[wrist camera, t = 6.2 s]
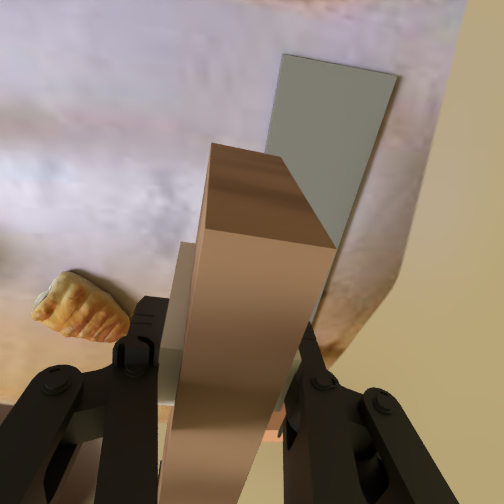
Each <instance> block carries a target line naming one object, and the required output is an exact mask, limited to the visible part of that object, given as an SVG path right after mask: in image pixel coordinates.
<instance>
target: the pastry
mask: <svg viewBox="0 0 504 504" xmlns="http://www.w3.org/2000/svg"><path fill="white" fill-rule="evenodd" d="M31 317H32V318H33V319H34V320H35V321H40V322H42V323H43V324H45V325H46V326H48V327H49V328H50V329H52V330H54V331H57V332H59V333H60V334H61V335H63V336H65V337H76V338H85V339H88V340H90V341H96V342H107V343H111V342H115V341H117V340H119V339H120V338H121V337H123V336H125V335H127V333H128V330H129V327H130V320H129V317H128V315H127V314H126V312H125V311H124V310H122V309H121V308H120V307H119V305H118V304H117V303H116V302H115V301H114V299H113V297H112V296H111V295H110V294H109V293H108V292H104V291H103V290H102V289H101V288H99V287H97V286H96V285H94V284H93V283H92V282H91V281H89V280H87V279H85V278H83V277H82V276H80V275H78V274H75V273H73V272H68V271H66V272H62V273H60V275H58V276H57V277H56V278H55V279H54V280H53V282H52V284H51V285H50V287H49V289H48V290H46V291H44V292H42V293H41V294H40V295H39V297H38V298H37V299H36V301H35V303H34V307H33V309H32V312H31Z"/></svg>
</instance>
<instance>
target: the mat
mask: <svg viewBox="0 0 504 504" xmlns="http://www.w3.org/2000/svg"><path fill="white" fill-rule="evenodd" d="M396 79H397V76H394V75H389V74H384V73H379V72H374V71H369V70H363V69H358V68H353V67H348V66H343V65H337V64H332V63H327V62H322V61H317V60H311V59H306V58H301V57H296V56H291V55H286V54H283V55H282V60H281V66H280V71H279V77H278V82H277V88H276V93H275V99H274V104H273V110H272V115H271V121H270V126H269V131H268V137H267V142H266V148H265V154H270V155H274V156H279V157H281V158H282V160H283V161H284V163H285V165H286V166H287V168H288V170H289V171H290V173H291V175H292V176H293V178H294V179H295V181H296V183H297V184H298V186H299V188H300V189H301V191H302V193H303V194H304V196H305V197H306V199H307V201H308V202H309V204H310V206H311V207H312V209H313V211H314V212H315V214H316V215H317V217H318V219H319V220H320V222H321V224H322V225H323V227H324V229H325V230H326V232H327V233H328V235H329V237H330V238H331V240H332V242H333V243H334V245H335V247H336V248H337V249H338V247H339V244H340V241H341V238H342V235H343V232H344V229H345V226H346V223H347V221H348V218H349V215H350V212H351V209H352V206H353V203H354V200H355V197H356V194H357V192H358V189H359V186H360V183H361V180H362V177H363V174H364V171H365V168H366V166H367V163H368V160H369V157H370V154H371V151H372V148H373V145H374V142H375V140H376V137H377V134H378V131H379V128H380V125H381V122H382V119H383V116H384V114H385V111H386V108H387V105H388V102H389V99H390V96H391V93H392V90H393V88H394V85H395V82H396ZM336 252H337V251H336ZM335 255H336V254H335ZM334 258H335V256H334ZM333 261H334V259H333ZM333 261H332V264H333ZM332 264H331V266H330V269H329V271H328V274H327V276H326V279H325V282H324V284H323V287H322V289H321V292H320V294H319V297H318V299H317V302H316V304H315V307H314V309H313V312H312V314H311V317H310V320H309V321H310V322H311V325H312V322H313V319H314V316H315V313H316V310H317V307H318V304H319V301H320V299H321V296H322V293H323V290H324V287H325V284H326V281H327V278H328V275H329V273H330V270H331V267H332Z"/></svg>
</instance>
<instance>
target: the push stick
mask: <svg viewBox="0 0 504 504" xmlns="http://www.w3.org/2000/svg"><path fill="white" fill-rule="evenodd" d="M336 251H337V248H336V247H335V245H334V243H333V242H332V240H331V238H330V237H329V235H328V233H327V232H326V230H325V229H324V227H323V225H322V224H321V222H320V220H319V219H318V217H317V215H316V214H315V212H314V211H313V209H312V207H311V206H310V204H309V202H308V201H307V199H306V197H305V196H304V194H303V193H302V191H301V189H300V188H299V186H298V184H297V183H296V181H295V179H294V178H293V176H292V175H291V173H290V171H289V170H288V168H287V166H286V165H285V163H284V161H283V160H282V158H281V157H279V156H274V155H270V154H265V153H260V152H255V151H250V150H245V149H240V148H235V147H230V146H225V145H221V144H216V143H211V149H210V155H209V162H208V168H207V174H206V181H205V187H204V194H203V200H202V206H201V213H200V219H199V226H198V232H197V238H196V247H195V255H194V264H193V272H192V280H191V289H190V297H189V306H188V314H187V323H186V331H185V339H184V348H183V354H182V360H181V366H180V373H179V379H178V385H177V391H176V397H175V403H174V406H172V405H170V411H169V418H168V424H167V430H166V437H165V443H164V450H163V457H162V458H163V459H162V460H161V461H160V468H159V475H158V504H237V502H238V499H239V497H240V494H241V491H242V489H243V487H244V484H245V481H246V479H247V476H248V474H249V471H250V469H251V466H252V464H253V461H254V459H255V456H256V453H257V451H258V449H259V446H260V443H261V441H262V438H263V436H264V433H265V431H266V428H267V426H268V423H269V421H270V418H271V416H272V413H273V411H274V408H275V406H276V403H277V400H278V398H279V395H280V393H281V390H282V388H283V385H284V383H285V380H286V378H287V375H288V373H289V370H290V368H291V365H292V363H293V360H294V357H295V355H296V352H297V350H298V347H299V345H300V342H301V340H302V337H303V335H304V332H305V330H306V327H307V325H308V322H309V320H310V317H311V314H312V312H313V309H314V307H315V304H316V302H317V299H318V297H319V294H320V292H321V289H322V287H323V284H324V282H325V279H326V276H327V274H328V271H329V269H330V266H331V264H332V261H333V259H334V256H335V254H336Z"/></svg>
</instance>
